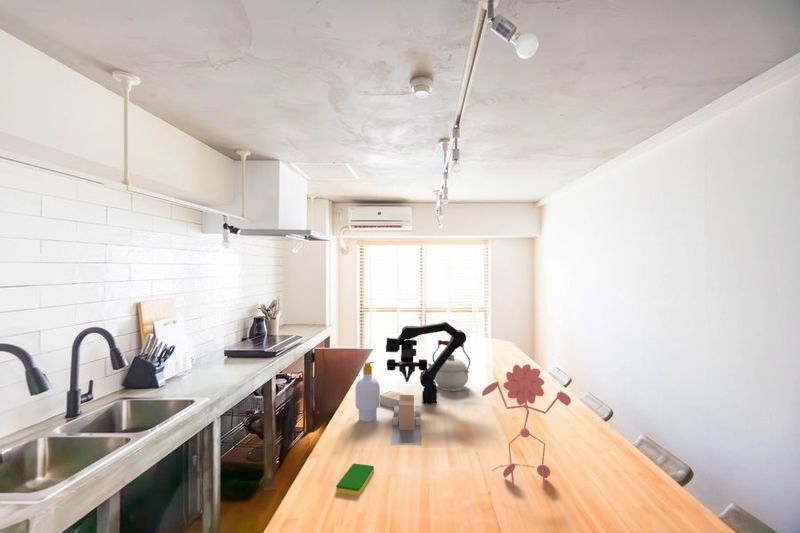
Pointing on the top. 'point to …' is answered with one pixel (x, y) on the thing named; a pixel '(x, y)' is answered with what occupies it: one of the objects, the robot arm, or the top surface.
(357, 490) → the dish sponge
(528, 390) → the figurine
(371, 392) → the soap bottle
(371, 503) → the top surface
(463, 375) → the kettle
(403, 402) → the block
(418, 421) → the chute
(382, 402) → the supplement box
